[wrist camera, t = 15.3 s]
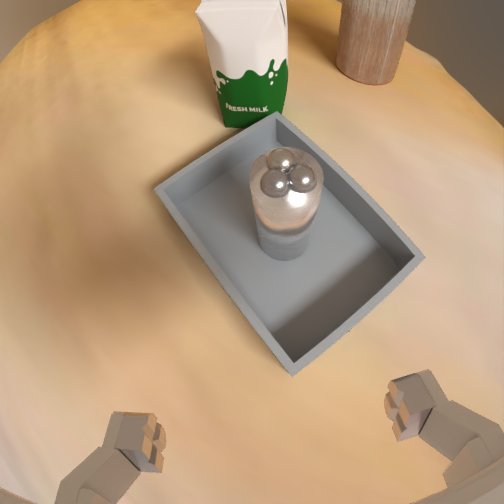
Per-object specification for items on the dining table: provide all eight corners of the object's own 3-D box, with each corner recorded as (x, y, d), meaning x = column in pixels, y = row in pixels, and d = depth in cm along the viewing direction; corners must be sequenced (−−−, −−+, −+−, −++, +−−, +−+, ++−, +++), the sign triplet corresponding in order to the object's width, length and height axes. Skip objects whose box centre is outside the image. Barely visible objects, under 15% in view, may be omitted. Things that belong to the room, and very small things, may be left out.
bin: (168, 210, 35) (153, 188, 30) (277, 138, 37) (277, 111, 32) (289, 373, 28) (292, 376, 23) (406, 272, 30) (425, 257, 25)
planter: (400, 67, 41) (428, -43, 20) (384, 95, 39) (418, -36, 18) (348, 45, 44) (360, -64, 22) (325, 69, 41) (335, -59, 20)
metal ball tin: (248, 232, 32) (232, 161, 20) (287, 204, 33) (290, 126, 21) (280, 271, 30) (280, 214, 19) (320, 240, 31) (341, 172, 20)
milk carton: (289, 91, 40) (288, -34, 21) (284, 136, 37) (282, -8, 18) (229, 89, 41) (206, -31, 22) (216, 133, 38) (180, -3, 19)
